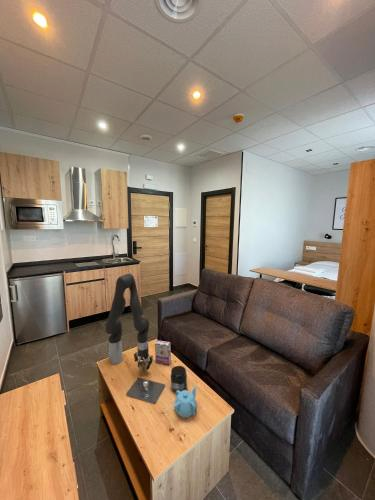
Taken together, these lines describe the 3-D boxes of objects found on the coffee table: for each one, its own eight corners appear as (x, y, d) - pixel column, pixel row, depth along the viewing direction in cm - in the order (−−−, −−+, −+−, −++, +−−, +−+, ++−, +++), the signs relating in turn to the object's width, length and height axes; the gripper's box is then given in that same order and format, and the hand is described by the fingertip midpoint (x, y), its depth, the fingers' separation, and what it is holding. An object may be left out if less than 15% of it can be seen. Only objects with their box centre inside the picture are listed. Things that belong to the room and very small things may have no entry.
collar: (137, 371, 147) (137, 365, 146) (142, 365, 153) (141, 359, 152) (145, 373, 145) (145, 367, 144) (150, 367, 151) (149, 361, 150)
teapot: (172, 420, 114) (172, 403, 112) (176, 397, 128) (176, 382, 126) (195, 422, 113) (195, 405, 111) (197, 399, 127) (197, 383, 125)
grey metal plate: (126, 395, 131) (125, 386, 130) (138, 379, 144) (137, 370, 143) (155, 404, 124) (154, 394, 123) (165, 386, 137) (164, 377, 136)
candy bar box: (171, 361, 161) (170, 341, 159) (168, 365, 156) (168, 345, 154) (158, 359, 165) (157, 339, 162) (155, 363, 160) (154, 343, 157)
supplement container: (183, 379, 143) (183, 363, 141) (189, 390, 133) (189, 373, 132) (168, 383, 139) (168, 367, 138) (173, 396, 130) (173, 378, 128)
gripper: (130, 347, 145) (132, 369, 147) (149, 351, 140) (150, 373, 143) (136, 341, 152) (137, 362, 154) (154, 345, 148) (155, 366, 150)
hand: (143, 367), depth 149 cm, fingers closed on collar, 6 cm apart
